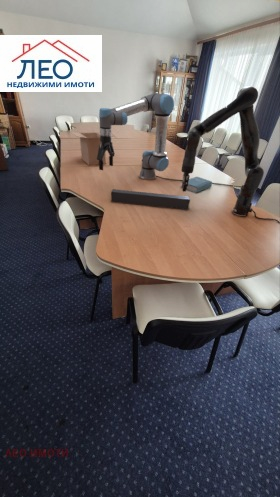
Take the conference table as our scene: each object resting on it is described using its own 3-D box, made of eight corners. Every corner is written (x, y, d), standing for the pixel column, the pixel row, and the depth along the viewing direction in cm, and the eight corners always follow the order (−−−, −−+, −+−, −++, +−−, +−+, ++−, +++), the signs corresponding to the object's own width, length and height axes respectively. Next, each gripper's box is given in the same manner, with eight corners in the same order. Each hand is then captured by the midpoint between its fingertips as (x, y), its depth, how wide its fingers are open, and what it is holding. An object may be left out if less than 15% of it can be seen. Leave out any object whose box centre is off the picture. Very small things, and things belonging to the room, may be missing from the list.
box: (116, 165, 229) (116, 136, 213) (83, 168, 214) (80, 137, 198) (102, 154, 259) (101, 128, 243) (71, 156, 244) (68, 129, 228)
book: (195, 181, 203) (197, 176, 200) (211, 187, 194) (212, 181, 191) (181, 187, 190) (182, 181, 187) (196, 193, 181) (197, 187, 178)
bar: (111, 201, 159) (111, 191, 154) (112, 199, 163) (112, 189, 158) (188, 209, 156) (190, 199, 151) (187, 206, 160) (189, 196, 155)
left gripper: (100, 138, 138) (101, 173, 150) (119, 133, 156) (119, 164, 169) (90, 137, 140) (92, 170, 152) (110, 132, 159) (110, 162, 171)
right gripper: (195, 168, 134) (190, 193, 144) (193, 161, 146) (188, 185, 155) (183, 167, 135) (178, 192, 144) (182, 160, 146) (178, 184, 156)
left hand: (106, 167), depth 161 cm, fingers open, 13 cm apart
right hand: (183, 188), depth 150 cm, fingers open, 8 cm apart
